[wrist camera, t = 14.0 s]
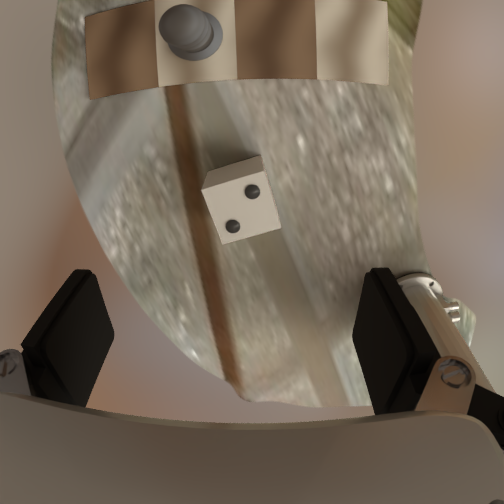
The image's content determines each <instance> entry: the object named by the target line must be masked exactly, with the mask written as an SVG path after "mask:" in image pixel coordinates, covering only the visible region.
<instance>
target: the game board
mask: <svg viewBox="0 0 504 504" xmlns="http://www.w3.org/2000/svg"><path fill="white" fill-rule="evenodd" d="M179 4H188V5H192V6H195V7H197V8H199V9H200V10H201V11H204V12H207V13H209V14H211V15H213V16H214V17H215V18H216V19H217V20H218V21H219V23H220V25H221V27H222V30H223V39H222V43H221V45H220V47H219V48H218V50H217V51H216V52H215V53H214V54H213V55H211V56H210V57H208V58H206V59H203V60H199V61H189V60H185V59H182V58H180V57H178V56H176V55H175V54H174V53H173V52H172V51H171V50H170V48H169V46H168V43H167V42H166V41H165V40H164V39H163V38H162V36H161V34H160V32H159V21H160V18H161V17H162V15H163V14H164V12H166V11H167V10H168V9H169V8H171V7H173V6H175V5H179ZM85 40H86V59H87V73H88V85H89V95H90V100H92V99H96V98H101V97H105V96H110V95H115V94H120V93H125V92H131V91H137V90H143V89H149V88H156V87H163V86H170V85H178V84H187V83H197V82H208V81H221V80H238V79H320V80H337V81H350V82H361V83H370V84H379V85H387V86H389V37H388V13H387V2H383V1H378V0H151V1H146V2H141V3H136V4H132V5H128V6H123V7H119V8H115V9H112V10H108V11H104V12H101V13H97V14H94V15H91V16H87V17H85Z"/></svg>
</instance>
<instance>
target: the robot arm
mask: <svg viewBox="0 0 504 504" xmlns="http://www.w3.org/2000/svg"><path fill="white" fill-rule="evenodd" d="M458 308H459V304H458V302H450V303H446V302H445V301H444V299H443V292H442V288H441V286H440V284H439V283H438V281H437V280H436V279H435V278H434V277H432V276H430V275H428V274H424V273H414V274H409V275H406V276H403V277H401V278H399V279H397V280H396V279H395V277H394V275H393V274H392V272H391V271H390V269H389V268H372V269H371V271H370V272H367V273H366V275H365V279H364V284H363V288H362V293H361V298H360V302H359V307H358V311H357V316H356V320H355V324H354V328H353V334H352V338H353V343H354V346H355V349H356V352H357V355H358V359H359V362H360V365H361V368H362V372H363V375H364V378H365V382H366V385H367V388H368V392H369V395H370V399H371V402H372V406H373V409H374V413H375V415H373V416H365V417H357V418H346V419H336V420H325V421H312V422H294V423H293V422H292V423H212V422H193V421H180V420H169V419H159V418H149V417H142V416H134V415H127V414H120V413H113V412H107V411H101V410H96V409H90V408H85V407H86V404H87V402H88V399H89V396H90V394H91V391H92V389H93V387H94V384H95V382H96V379H97V377H98V375H99V372H100V370H101V367H102V365H103V363H104V360H105V358H106V355H107V353H108V351H109V348H110V346H111V344H112V342H113V340H114V329H113V327H112V324H111V321H110V318H109V315H108V312H107V309H106V306H105V303H104V300H103V297H102V294H101V291H100V288H99V284H98V281H97V278H96V275H95V274H92V272H91V271H90V270H81V269H77V270H75V271H73V272H72V274H71V275H70V276H69V278H68V279H67V280H66V281H65V283H64V284H63V285H62V287H61V288H60V289H59V291H58V292H57V293H56V295H55V296H54V297H53V299H52V300H51V301H50V303H49V304H48V305H47V307H46V308H45V310H44V311H43V312H42V314H41V315H40V317H39V318H38V320H37V321H36V323H35V324H34V325H33V327H32V328H31V330H30V331H29V333H28V334H27V336H26V337H25V339H24V340H23V342H22V343H21V346H22V348H23V349H24V350H23V352H22V353H20V352H19V351H18V350H15V349H7V350H4V351H2V352H0V504H504V397H502V396H500V395H498V394H496V392H495V391H494V389H493V387H492V386H491V384H490V382H489V380H488V379H487V377H486V375H485V374H484V372H483V370H482V369H481V367H480V365H479V363H478V362H477V361H476V359H475V357H474V355H473V354H472V352H471V350H470V349H469V347H468V345H467V344H466V342H465V340H464V339H463V337H462V336H461V334H460V332H459V331H458V329H457V328H456V326H455V324H454V323H458V322H459V321H460V314H459V312H458V311H455V312H449V313H448V311H454V310H458Z"/></svg>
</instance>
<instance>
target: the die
mask: <svg viewBox="0 0 504 504" xmlns="http://www.w3.org/2000/svg"><path fill="white" fill-rule="evenodd" d="M201 191H202V194H203V196H204V199H205V201H206V204H207V206H208V209H209V211H210V214H211V216H212V219H213V221H214V224H215V227H216V229H217V232H218V234H219V237H220V239H221V242H222V244H226V243H230V242H234V241H237V240H241V239H244V238H248V237H251V236H255V235H258V234H262V233H266V232H269V231H273V230H276V229H280V228H281V224H280V219H279V215H278V211H277V207H276V203H275V200H274V196H273V193H272V190H271V186H270V183H269V180H268V177H267V173H266V170H265V167H264V164H263V160H262V157H261V155H260V156H256V157H253V158H250V159H246V160H243V161H240V162H236V163H233V164H230V165H227V166H224V167H220V168H217V169H214V170H211V171H208V172H207V175H206V178H205V181H204V184H203V186H202V189H201Z"/></svg>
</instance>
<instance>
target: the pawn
mask: <svg viewBox="0 0 504 504" xmlns="http://www.w3.org/2000/svg"><path fill="white" fill-rule="evenodd" d="M159 32H160V34H161V36H162V38H163V39H164V40H165V41H166V42H167V43H168V46H169V48H170V50H171V51H172V52H173V53H174V54H175V55H176V56H178V57H180V58H182V59H185V60H189V61H199V60H203V59H206V58H208V57H210V56H211V55H213V54H214V53H215V52H216V51H217V50H218V48H219V47H220V45H221V43H222V39H223V30H222V27H221V25H220V23H219V21H218V20H217V19H216V18H215V17H214V16H213V15H211V14H209V13H207V12H204V11H201V10H200V9H199V8H197V7H195V6H192V5H188V4H179V5H175V6H173V7H171V8H169V9H168V10H167V11H166V12H164V14H163V15H162V17H161V18H160V21H159Z"/></svg>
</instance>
